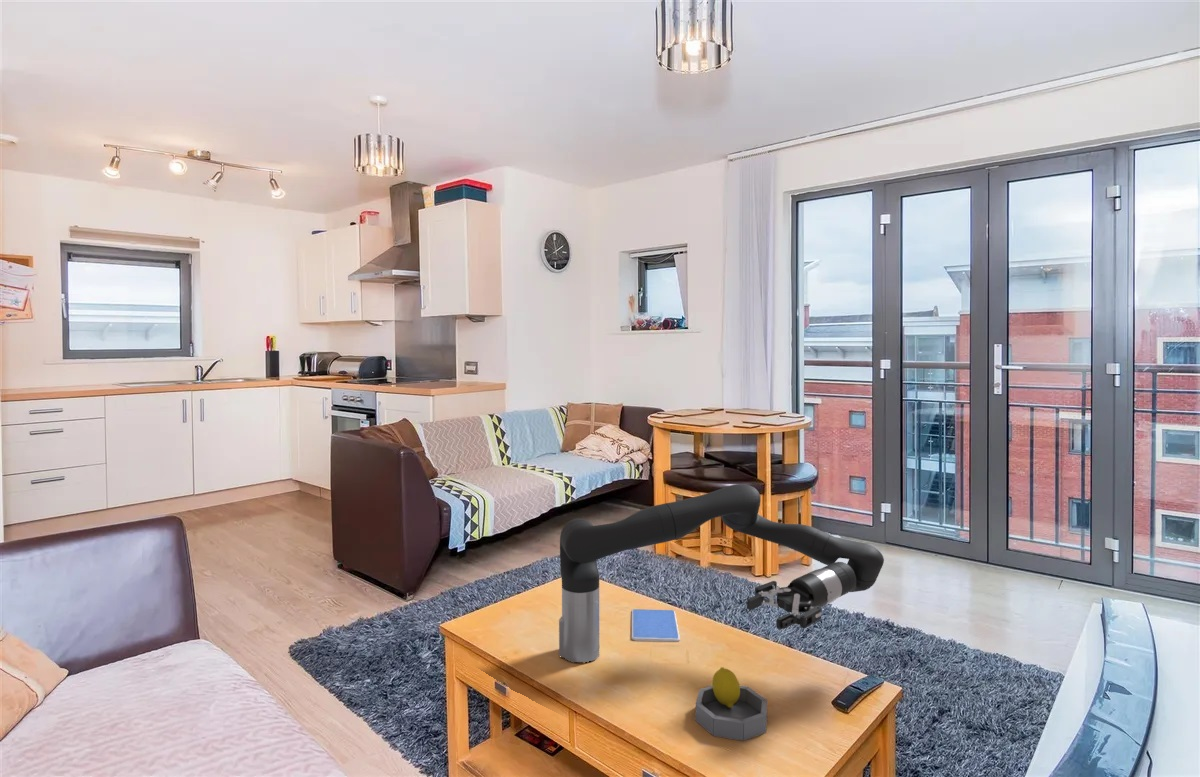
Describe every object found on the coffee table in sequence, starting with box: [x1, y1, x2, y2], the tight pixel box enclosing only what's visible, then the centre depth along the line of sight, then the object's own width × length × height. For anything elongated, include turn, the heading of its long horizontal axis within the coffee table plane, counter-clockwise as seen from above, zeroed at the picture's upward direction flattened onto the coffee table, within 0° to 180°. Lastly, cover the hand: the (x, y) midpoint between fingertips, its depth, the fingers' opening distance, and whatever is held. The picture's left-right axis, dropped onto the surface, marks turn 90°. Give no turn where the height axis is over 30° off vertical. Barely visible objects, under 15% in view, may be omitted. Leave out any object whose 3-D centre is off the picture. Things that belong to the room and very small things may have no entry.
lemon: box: [711, 666, 741, 708], centre depth 130 cm, size 6×6×8 cm
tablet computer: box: [631, 608, 681, 643], centre depth 171 cm, size 19×13×1 cm, turn 177°
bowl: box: [694, 684, 768, 742], centre depth 127 cm, size 14×14×4 cm
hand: (762, 615), depth 131 cm, fingers open, 8 cm apart
